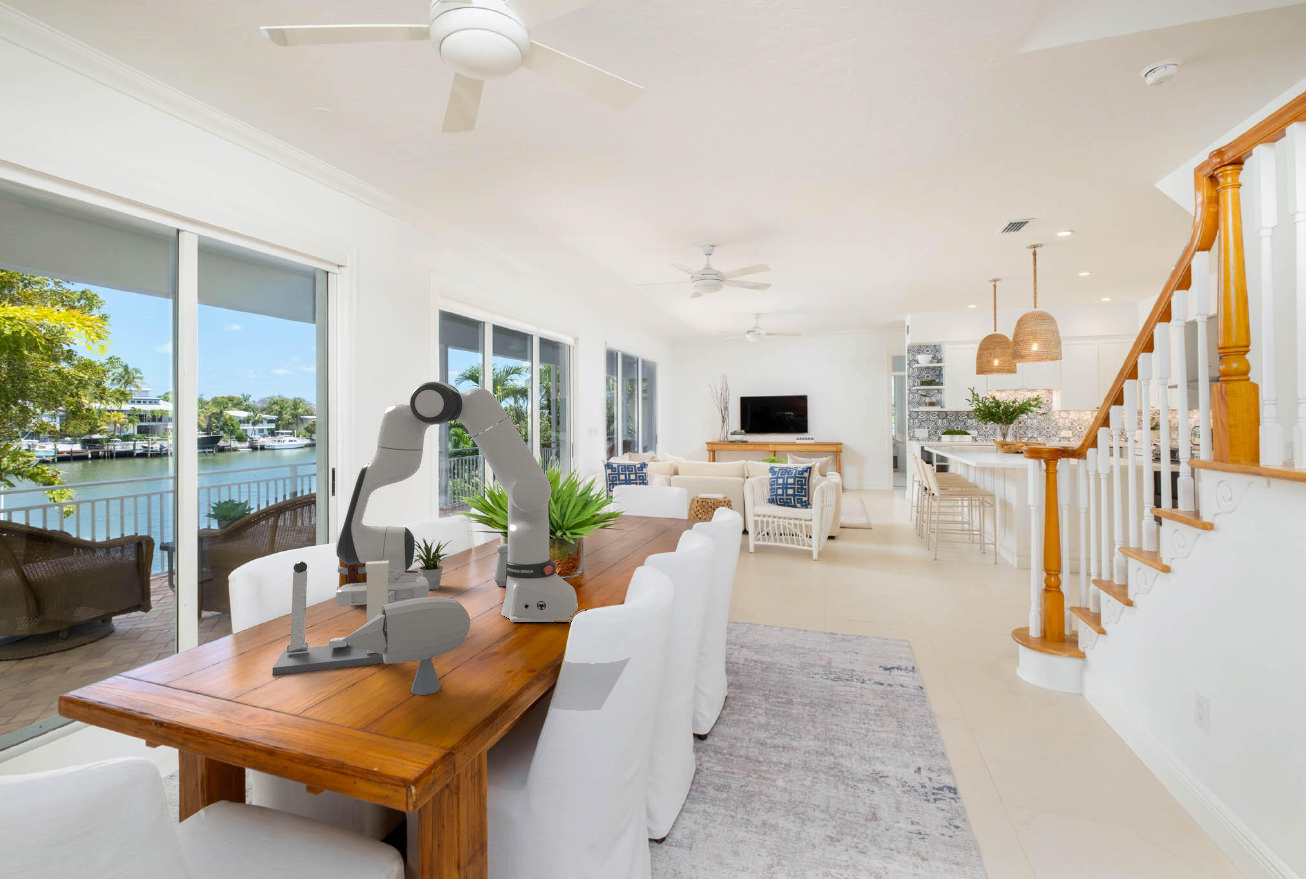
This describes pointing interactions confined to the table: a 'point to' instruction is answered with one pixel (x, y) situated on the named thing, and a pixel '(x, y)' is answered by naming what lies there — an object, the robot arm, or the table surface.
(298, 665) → the console
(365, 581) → the mug
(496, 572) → the salt shaker
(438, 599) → the jet engine
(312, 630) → the table surface
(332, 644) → the block
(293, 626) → the steel toggle lever
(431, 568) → the house plant
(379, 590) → the beige rectangular bar
